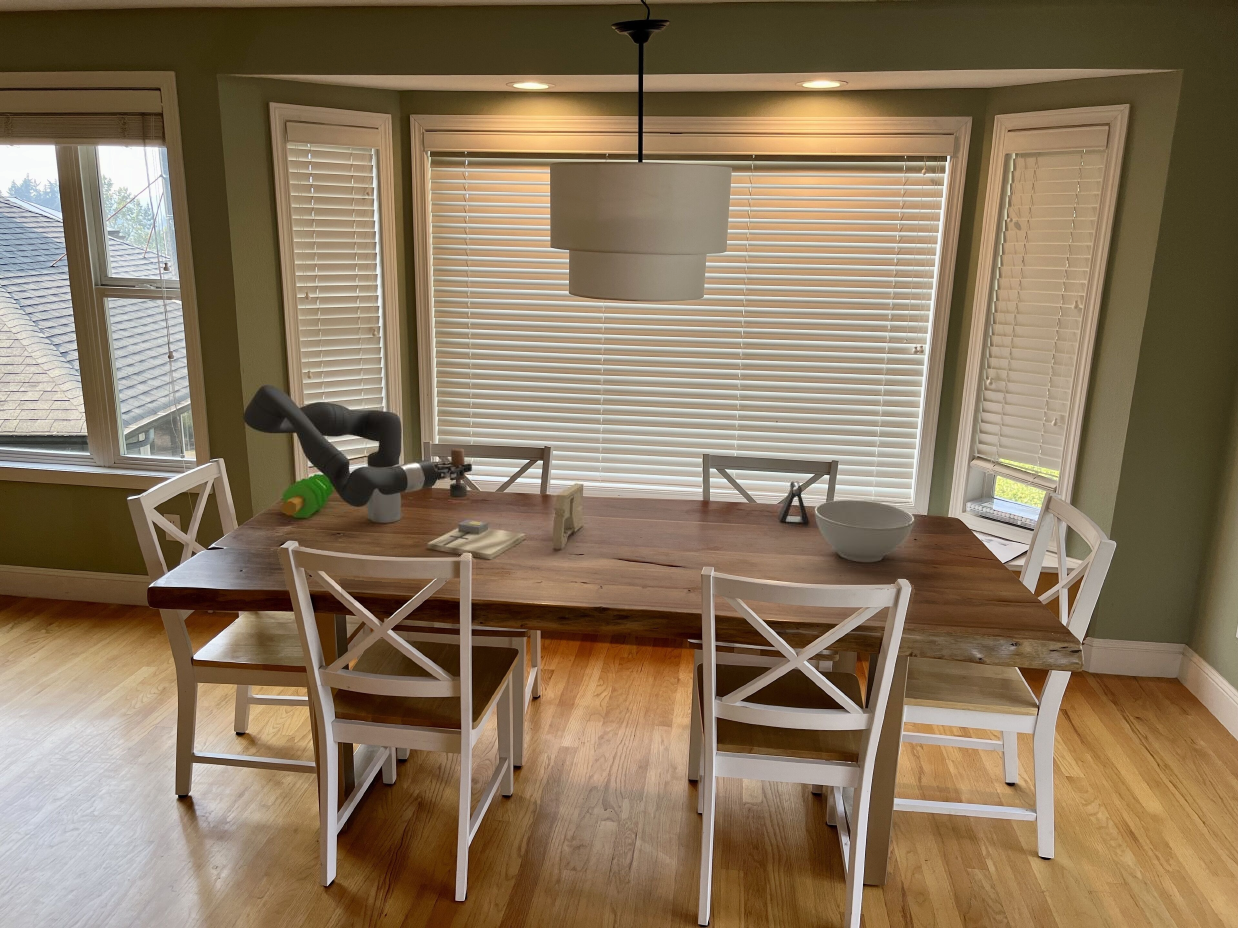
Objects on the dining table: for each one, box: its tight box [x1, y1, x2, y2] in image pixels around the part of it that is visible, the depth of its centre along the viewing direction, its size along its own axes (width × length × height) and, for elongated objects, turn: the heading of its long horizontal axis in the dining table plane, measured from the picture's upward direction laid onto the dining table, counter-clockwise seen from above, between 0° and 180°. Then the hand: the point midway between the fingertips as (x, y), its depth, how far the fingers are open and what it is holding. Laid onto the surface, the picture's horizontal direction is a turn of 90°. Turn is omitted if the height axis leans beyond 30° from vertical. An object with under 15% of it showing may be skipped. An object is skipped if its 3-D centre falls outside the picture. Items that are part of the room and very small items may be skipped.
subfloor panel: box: [427, 527, 526, 560], centre depth 253 cm, size 20×19×2 cm
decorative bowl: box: [814, 499, 916, 563], centre depth 250 cm, size 27×27×12 cm
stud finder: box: [457, 518, 489, 534], centre depth 260 cm, size 7×5×2 cm
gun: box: [551, 482, 584, 550], centre depth 259 cm, size 24×3×15 cm, turn 168°
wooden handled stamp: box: [449, 448, 468, 498], centre depth 249 cm, size 5×5×13 cm
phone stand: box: [778, 480, 810, 525], centre depth 280 cm, size 9×6×12 cm, turn 84°
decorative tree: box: [280, 473, 334, 519], centre depth 280 cm, size 11×12×30 cm
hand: (466, 465), depth 250 cm, fingers closed on wooden handled stamp, 3 cm apart
